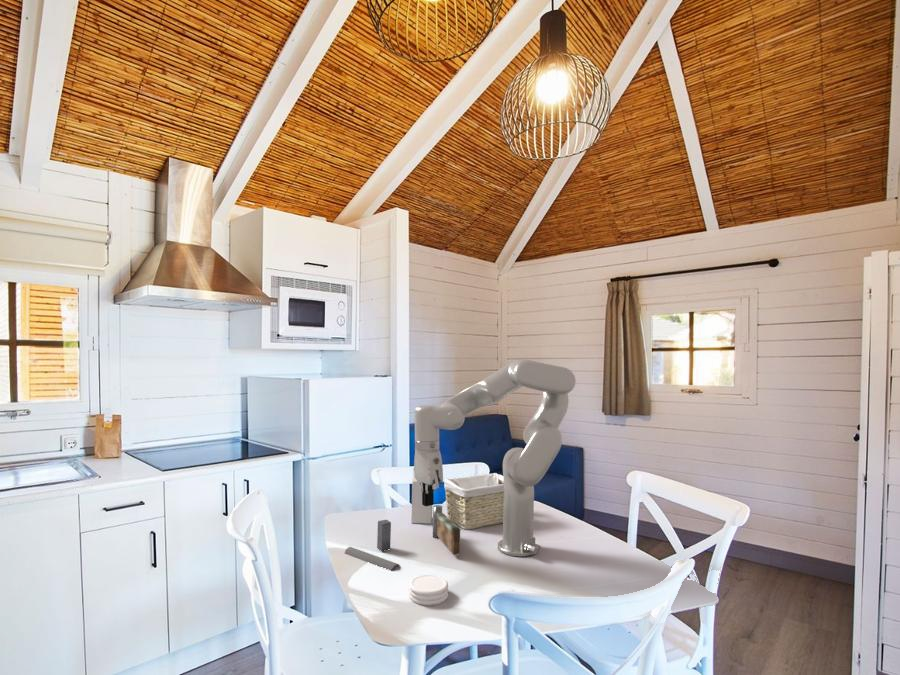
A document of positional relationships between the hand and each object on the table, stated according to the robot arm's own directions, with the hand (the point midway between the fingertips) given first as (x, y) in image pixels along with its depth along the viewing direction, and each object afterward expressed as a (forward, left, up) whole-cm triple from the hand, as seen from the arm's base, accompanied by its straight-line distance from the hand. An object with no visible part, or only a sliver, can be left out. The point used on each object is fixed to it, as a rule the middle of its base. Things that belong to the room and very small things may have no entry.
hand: (427, 504), depth 154 cm
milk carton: (+25, -14, -15) cm, 32 cm away
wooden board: (-1, -7, -13) cm, 15 cm away
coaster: (-23, +14, -15) cm, 31 cm away
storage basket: (+14, -33, -15) cm, 39 cm away
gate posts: (+9, 0, -14) cm, 17 cm away
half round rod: (+4, +17, -15) cm, 23 cm away
